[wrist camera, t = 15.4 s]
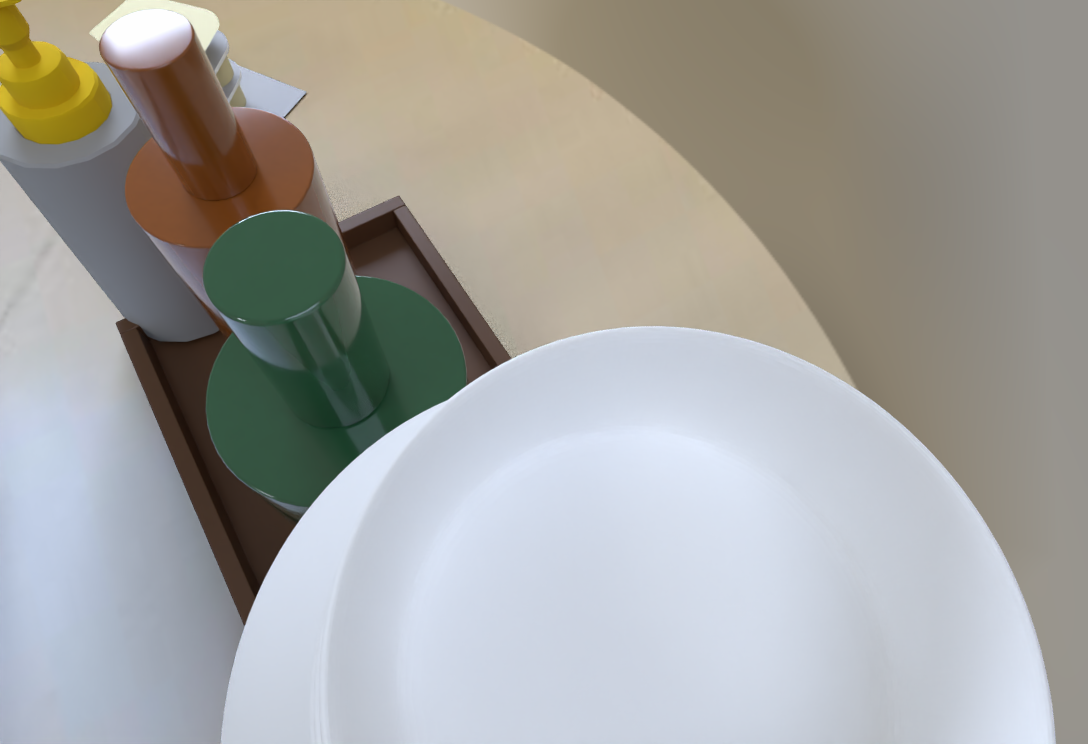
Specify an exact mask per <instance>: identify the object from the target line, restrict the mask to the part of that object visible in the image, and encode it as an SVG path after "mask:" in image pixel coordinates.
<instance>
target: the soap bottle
mask: <svg viewBox="0 0 1088 744" xmlns="http://www.w3.org/2000/svg"><path fill="white" fill-rule="evenodd" d="M20 1H21V0H0V48H1V49H2V50H3V51H4V53H3V54H2V55H1V56H0V82H1V83H2V85H1V87H0V161H1V162H2V164H3V165H4V166H5V168H6V169H7V170H8V171H9V173H10V174H11V175H12V176H13V178H14V179H15V180H16V181H17V183H18V184H19V185H20V186H21V188H22V189H23V190H24V191H25V193H26V194H27V195H28V197H29V198H30V199H31V200H32V202H33V203H34V204H35V205H36V207H37V208H38V209H39V210H40V212H41V213H42V214H43V215H44V217H45V218H46V219H47V220H48V222H49V223H50V224H51V226H52V227H53V228H54V229H55V231H56V232H57V233H58V234H59V236H60V237H61V238H62V239H63V241H64V242H65V243H66V244H67V246H68V247H69V248H70V249H71V251H72V252H73V253H74V255H75V256H76V257H77V258H78V260H79V261H80V262H81V263H82V265H83V266H84V267H85V268H86V270H87V271H88V272H89V273H90V275H91V276H92V277H93V279H94V280H95V281H96V282H97V284H98V285H99V286H100V287H101V289H102V290H103V291H104V292H105V294H106V295H107V296H108V297H109V299H110V300H111V301H112V302H113V304H114V305H115V306H116V308H117V309H118V310H119V311H120V313H121V314H122V315H123V316H124V317H125V318H126V319H127V320H128V321H130V322H132V323H135V324H137V325H139V326H140V327H141V328H142V329H143V331H144V332H145V333H146V335H147V336H148V337H150V338H153V339H155V340H158V341H167V342H188V341H191V340H195V339H198V338H201V337H204V336H207V335H211V334H214V333H216V332H217V331H219V329H218V327H217V326H216V325H215V323H214V322H213V321H212V320H211V318H210V317H209V316H208V314H207V313H206V312H205V310H204V309H203V308H202V307H201V305H200V304H199V303H198V301H197V300H196V299H195V298H194V296H193V295H192V294H191V292H190V291H189V290H188V289H187V287H186V286H185V285H184V283H183V282H182V281H181V279H180V278H179V277H178V276H177V274H176V273H175V272H174V270H173V269H172V268H171V267H170V265H169V264H168V263H167V261H166V260H165V259H164V258H163V256H162V255H161V254H160V252H159V251H158V250H157V248H156V247H155V246H154V245H153V243H152V242H151V241H150V239H149V238H148V237H147V236H146V234H145V233H144V232H143V230H142V229H141V228H140V227H139V225H138V224H137V223H136V221H135V220H134V218H133V217H132V216H131V214H130V211H129V209H128V207H127V203H126V199H125V180H126V176H127V172H128V169H129V167H130V165H131V163H132V161H133V159H134V157H135V156H136V154H137V153H138V151H139V150H140V149H141V148H142V147H143V146H144V144H145V143H146V142H147V141H148V140H149V139H151V138H152V136H151V134H150V133H149V131H148V129H147V128H146V126H145V125H144V123H143V122H142V120H141V118H140V117H139V115H138V114H137V112H136V111H135V109H134V107H133V106H132V104H131V103H130V101H129V99H128V98H127V96H126V95H125V93H124V92H123V90H122V88H121V87H120V85H119V84H118V82H117V81H116V79H115V77H114V76H113V74H112V73H111V71H110V69H109V68H108V66H107V65H106V64H103V63H98V62H82V61H79V60H76V59H73V58H70V57H66V55H65V54H64V53H63V52H62V51H61V50H60V49H59V48H57V47H56V46H54V45H52V44H49V43H46V42H35V41H32V42H31V40H30V39H29V25H28V23H27V22H26V20H25V19H24V17H23V16H22V14H21V13H20V11H19V10H18V8H17V7H16V5H15V4H16V3H18V2H20Z"/></svg>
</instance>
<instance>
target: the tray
mask: <svg viewBox="0 0 1088 744" xmlns="http://www.w3.org/2000/svg"><path fill="white" fill-rule="evenodd" d="M339 225H340V228H341V231H342V233H343V236H344V239H345V241H346V244H347V247H348V250H349V252H350V255H351V258H352V260H353V263H354V266H355V269H356V271H357V274H358V275H359V276H370V277H376V278H380V279H385V280H389V281H392V282H395V283H398V284H401V285H403V286H405V287H407V288H409V289H411V290H413V291H415V292H416V293H418V294H420V295H421V296H423V297H424V298H426V299H427V300H428V301H429V302H431V303H432V304H433V305H434V306H435V307H437V308H438V309H439V311H440V312H441V313H442V314H443V315H444V316H445V317H446V318H447V320H448V321H449V323H450V324H451V326H452V327H453V329H454V330H455V332H456V334H457V337H458V339H459V341H460V343H461V346H462V349H463V353H464V356H465V361H466V368H467V374H468V380H469V384H470V383H471V382H473V381H474V380H476V379H477V378H479V377H480V376H482V375H484V374H485V373H487V372H488V371H490V370H492V369H494V368H495V367H497V366H499V365H501V364H503V363H505V362H507V361H509V360H511V357H510V356H509V354H508V353H507V351H506V350H505V349H504V347H503V346H502V344H501V343H500V341H499V340H498V338H497V337H496V336H495V334H494V333H493V331H492V330H491V328H490V327H489V325H488V324H487V322H486V321H485V320H484V318H483V317H482V315H481V314H480V312H479V311H478V309H477V308H476V306H475V305H474V304H473V302H472V301H471V299H470V298H469V296H468V295H467V293H466V292H465V291H464V289H463V288H462V286H461V285H460V283H459V282H458V280H457V279H456V277H455V276H454V275H453V273H452V272H451V270H450V269H449V267H448V266H447V264H446V263H445V261H444V260H443V259H442V257H441V256H440V254H439V253H438V251H437V250H436V248H435V247H434V245H433V244H432V243H431V241H430V240H429V238H428V237H427V235H426V234H425V232H424V231H423V230H422V228H421V227H420V225H419V224H418V222H417V221H416V219H415V218H414V216H413V215H412V214H411V212H410V211H409V209H408V208H407V206H406V205H405V203H404V202H403V200H402V199H401V198H400V196H397V197H394V198H392V199H390V200H388V201H385V202H383V203H381V204H379V205H376V206H374V207H372V208H370V209H368V210H365V211H363V212H361V213H359V214H356V215H354V216H352V217H350V218H348V219H345V220H343V221H341V222H339ZM116 325H117V328H118V330H119V333H120V334H121V338H122V340H123V342H124V345H125V347H126V349H127V352H128V354H129V356H130V359H131V361H132V363H133V366H134V368H135V370H136V373H137V375H138V377H139V380H140V382H141V384H142V387H143V389H144V392H145V394H146V396H147V399H148V401H149V403H150V406H151V408H152V410H153V413H154V415H155V417H156V420H157V422H158V424H159V427H160V429H161V431H162V434H163V436H164V438H165V441H166V443H167V445H168V448H169V450H170V453H171V455H172V457H173V460H174V462H175V464H176V467H177V469H178V471H179V474H180V476H181V478H182V481H183V483H184V485H185V488H186V490H187V492H188V495H189V497H190V499H191V502H192V504H193V507H194V509H195V511H196V514H197V516H198V518H199V521H200V523H201V525H202V528H203V530H204V532H205V535H206V537H207V539H208V542H209V544H210V546H211V549H212V551H213V553H214V556H215V558H216V560H217V563H218V565H219V568H220V570H221V572H222V575H223V577H224V579H225V582H226V584H227V586H228V589H229V591H230V593H231V596H232V598H233V600H234V603H235V605H236V607H237V610H238V612H239V614H240V617H241V619H242V621H243V624H244V626H245V624H246V621H247V619H248V616H249V613H250V611H251V608H252V606H253V603H254V601H255V599H256V596H257V594H258V592H259V590H260V587H261V585H262V583H263V581H264V579H265V577H266V575H267V573H268V571H269V569H270V567H271V566H272V564H273V562H274V560H275V558H276V557H277V555H278V553H279V551H280V550H281V548H282V546H283V545H284V543H285V542H286V540H287V538H288V537H289V535H290V534H291V532H292V531H293V529H294V528H295V527H294V526H293V525H292V524H291V523H290V522H289V521H287V520H286V519H285V518H284V517H283V516H281V515H280V514H279V513H278V512H277V511H276V510H274V509H273V508H272V507H271V506H270V505H269V504H267V503H266V502H265V501H264V500H263V499H261V498H260V497H259V496H258V495H257V494H256V493H254V492H253V491H252V490H251V489H250V488H249V487H247V486H246V485H245V484H244V483H243V482H241V481H240V480H239V479H238V478H237V477H236V476H235V475H234V474H233V473H232V472H231V471H230V470H229V468H228V467H227V466H226V465H225V463H224V462H223V460H222V459H221V457H220V456H219V454H218V453H217V451H216V448H215V446H214V444H213V442H212V439H211V436H210V432H209V429H208V425H207V417H206V392H207V386H208V381H209V376H210V374H211V371H212V368H213V365H214V362H215V360H216V358H217V356H218V354H219V352H220V350H221V348H222V346H223V345H224V343H225V342H226V340H227V339H226V338H225V336H224V335H223V334H222V332H221V331H220V330H219V331H217V332H216V333H214V334H211V335H207V336H204V337H201V338H198V339H195V340H191V341H188V342H167V341H158V340H155V339H153V338H150V337H148V336H147V335H146V333H145V332H144V331H143V329H142V328H141V327H140V326H139V325H137V324H135V323H132V322H130V321H128V320H127V319H126V318H125V319H123V320H120V321H118V322H116Z"/></svg>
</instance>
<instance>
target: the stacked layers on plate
mask: <svg viewBox="0 0 1088 744" xmlns="http://www.w3.org/2000/svg"><path fill="white" fill-rule="evenodd" d="M149 9H163V10H169V11H173V12H176V13H178V14H180V15H182V16H184V17H185V18H186V19H187V20H188V21H189V22H190V23H191V24H192V26H193V28H194V30H195V32H196V34H197V36H198V38H199V40H200V42H201V45H202V47H203V49H204V51H205V53H206V55H207V57H208V59H209V61H210V64H211V66H212V68H213V70H214V72H215V74H216V76H217V78H218V80H219V83H220V85H221V87H222V89H223V91H224V93H225V95H226V97H227V99H228V102H229V104H230V106H231V107H248V108H255V109H260V110H264V111H267V112H271V113H274V114H276V115H278V116H280V117H282V118H284V117H285V116H286V114H287V113H288V112H289V111H290V110H291V109H292V108H293V107H294V106H295V104H296V103H297V102H298V101H299V100H300V99H301V98H302V97H303V95H304V94H305V93H306V91H303V90H300V89H298V88H295V87H293V86H290V85H287V84H285V83H282V82H280V81H277V80H274V79H272V78H269V77H267V76H264V75H262V74H259V73H256V72H254V71H251V70H249V69H246V68H243V67H241V66H238V65H237V64H236V63H235V62H234V61H232V60H230V59H228V57H227V54H228V51H229V43H228V41H227V39H226V37H225V35H224V34H223V33H222V32H220V31H218V27H219V20H218V18H217V16H216V15H215V14H214V13H213V12H211V11H209V10H206V9H203V8H199V7H195V6H190V5H186V4H182V3H178V2H174V1H169V0H126V1H125V2H124V3H123V4H122V5H120V6H119V7H118V8H117V9H116V10H115V11H113V12H112V13H111V14H110V15H109V16H108V17H107V18H105V19H104V20H103V21H102V22H101V23H100V24H98V25H97V26H96V27H95V28H94V29H93V30H91V31H90V34H91V35H92V36H93V37H94V38H96V39H97V40H98V41H99V42H100V39H101V37H102V35H103V33H104V32H105V30H106V29H107V28H108V27H109V26H110V25H111V24H113V23H114V22H115V21H117V20H118V19H120V18H122V17H124V16H126V15H128V14H131V13H134V12H138V11H142V10H149Z"/></svg>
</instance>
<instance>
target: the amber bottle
mask: <svg viewBox="0 0 1088 744" xmlns="http://www.w3.org/2000/svg"><path fill="white" fill-rule="evenodd" d="M99 51H100V55H101V57H102V58H103V60H104V62H105V63H106V65H107V66H108V68H109V69H110V71H111V73H112V74H113V76H114V77H115V79H116V81H117V82H118V84H119V85H120V87H121V88H122V90H123V92H124V93H125V95H126V96H127V98H128V99H129V101H130V103H131V104H132V106H133V107H134V109H135V111H136V112H137V114H138V115H139V117H140V118H141V120H142V122H143V123H144V125H145V126H146V128H147V129H148V131H149V133H150V134H151V136H152V138H151V139H149V140H148V141H147V142H146V143H145V144H144V146H143V147H142V148H141V149H140V150H139V151H138V153H137V154H136V156H135V157H134V159H133V161H132V163H131V165H130V167H129V169H128V172H127V176H126V180H125V199H126V203H127V207H128V209H129V211H130V214H131V216H132V217H133V218H134V220H135V221H136V223H137V224H138V225H139V227H140V228H141V229H142V230H143V232H144V233H145V234H146V236H147V237H148V238H149V239H150V241H151V242H152V243H153V245H154V246H155V247H156V248H157V250H158V251H159V252H160V254H161V255H162V256H163V258H164V259H165V260H166V261H167V263H168V264H169V265H170V267H171V268H172V269H173V270H174V272H175V273H176V274H177V276H178V277H179V278H180V279H181V281H182V282H183V283H184V285H185V286H186V287H187V289H188V290H189V291H190V292H191V294H192V295H193V296H194V298H195V299H196V300H197V301H198V303H199V304H200V305H201V307H202V308H203V309H204V310H205V312H206V313H207V314H208V316H209V317H210V318H211V320H212V321H213V322H214V323H215V325H216V326H217V327H218V329H219V330H220V331H221V332H222V334H223V335H224V336H225V338H226V339H228V337H229V336H230V334H231V333H232V331H231V329H230V328H229V327H228V325H227V324H226V323H225V321H224V320H223V319H222V317H221V316H220V315H219V313H218V312H217V311H216V309H215V308H214V307H213V305H212V304H211V302H210V301H209V299H208V297H207V295H206V293H205V290H204V286H203V267H204V262H205V259H206V257H207V254H208V252H209V250H210V248H211V247H212V245H213V244H214V243H215V241H216V240H217V239H218V238H219V237H220V236H221V235H222V234H223V233H224V232H225V231H226V230H227V229H228V228H230V227H231V226H233V225H234V224H236V223H237V222H239V221H241V220H243V219H245V218H247V217H249V216H252V215H255V214H258V213H261V212H266V211H271V210H296V211H301V212H305V213H308V214H311V215H314V216H316V217H318V218H320V219H321V220H323V221H324V222H326V223H327V224H328V225H330V226H331V227H332V228H333V229H334V230H335V231H336V232H337V234H338V235H339V237H340V238H341V240H342V242H343V245H344V247H345V250H346V253H347V255H348V258H349V261H350V263H351V266H352V269H353V271H354V274H355V275H358V274H357V271H356V269H355V266H354V263H353V260H352V258H351V255H350V252H349V250H348V247H347V244H346V241H345V239H344V236H343V233H342V231H341V228H340V225H339V222H338V220H337V217H336V214H335V212H334V209H333V206H332V203H331V201H330V198H329V195H328V192H327V190H326V187H325V184H324V182H323V179H322V176H321V173H320V171H319V168H318V165H317V163H316V160H315V157H314V154H313V152H312V149H311V147H310V144H309V142H308V141H307V139H306V138H305V136H304V135H303V134H302V133H301V131H300V130H299V129H298V128H297V127H295V126H294V125H293V124H292V123H290V122H289V121H287V120H286V119H284V118H282V117H280V116H278V115H276V114H274V113H271V112H267V111H264V110H260V109H255V108H248V107H231V106H230V104H229V102H228V99H227V97H226V95H225V93H224V91H223V89H222V87H221V85H220V83H219V80H218V78H217V76H216V74H215V72H214V70H213V68H212V66H211V64H210V61H209V59H208V57H207V55H206V53H205V51H204V49H203V47H202V45H201V42H200V40H199V38H198V36H197V34H196V32H195V30H194V28H193V26H192V24H191V23H190V22H189V21H188V20H187V19H186V18H185V17H184V16H182V15H180V14H178V13H176V12H173V11H169V10H163V9H149V10H142V11H138V12H134V13H131V14H128V15H126V16H124V17H122V18H120V19H118V20H117V21H115V22H114V23H113V24H111V25H110V26H109V27H108V28H107V29H106V30H105V32H104V33H103V35H102V37H101V39H100V43H99Z"/></svg>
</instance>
